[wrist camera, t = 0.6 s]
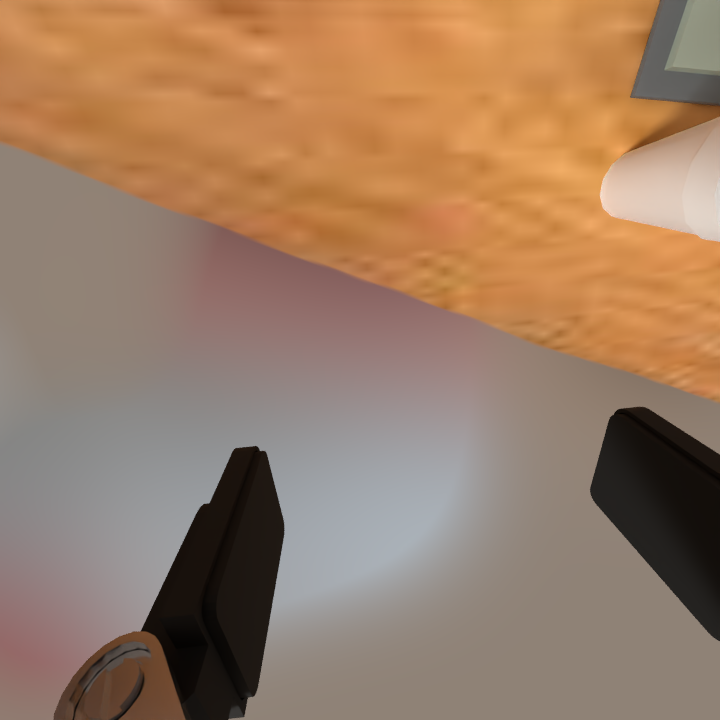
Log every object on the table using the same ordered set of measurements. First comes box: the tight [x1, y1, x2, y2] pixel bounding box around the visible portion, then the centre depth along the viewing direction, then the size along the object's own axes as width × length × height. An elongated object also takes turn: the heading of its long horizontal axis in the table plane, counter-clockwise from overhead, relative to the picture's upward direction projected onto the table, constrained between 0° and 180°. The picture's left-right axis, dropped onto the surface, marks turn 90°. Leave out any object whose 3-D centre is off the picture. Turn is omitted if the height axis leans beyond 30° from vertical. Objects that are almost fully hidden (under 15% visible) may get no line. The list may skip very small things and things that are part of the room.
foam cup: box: [600, 117, 720, 242], centre depth 28 cm, size 10×9×13 cm
